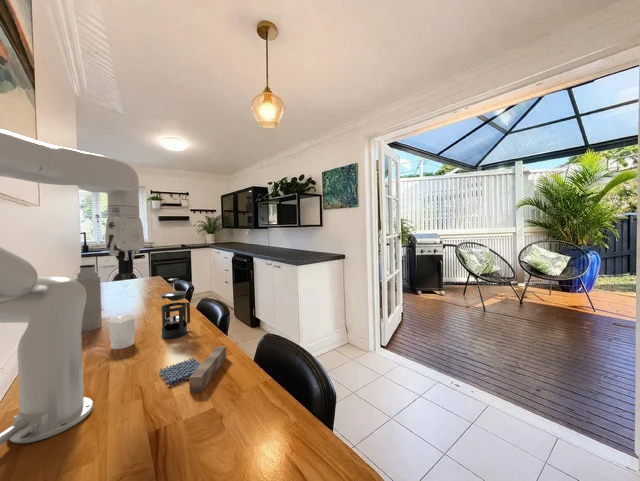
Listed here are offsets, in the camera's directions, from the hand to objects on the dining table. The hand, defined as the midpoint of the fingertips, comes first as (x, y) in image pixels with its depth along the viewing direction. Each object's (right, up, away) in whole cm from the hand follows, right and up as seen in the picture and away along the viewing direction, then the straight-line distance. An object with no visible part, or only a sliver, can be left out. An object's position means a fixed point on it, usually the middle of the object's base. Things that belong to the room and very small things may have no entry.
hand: (126, 273), depth 77 cm
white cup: (-14, -29, +17) cm, 36 cm away
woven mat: (+19, -30, -3) cm, 35 cm away
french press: (0, -29, +27) cm, 39 cm away
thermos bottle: (-42, -29, +34) cm, 61 cm away
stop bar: (+27, -29, -3) cm, 40 cm away
